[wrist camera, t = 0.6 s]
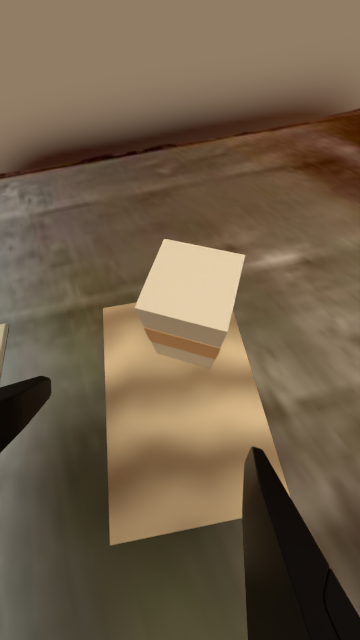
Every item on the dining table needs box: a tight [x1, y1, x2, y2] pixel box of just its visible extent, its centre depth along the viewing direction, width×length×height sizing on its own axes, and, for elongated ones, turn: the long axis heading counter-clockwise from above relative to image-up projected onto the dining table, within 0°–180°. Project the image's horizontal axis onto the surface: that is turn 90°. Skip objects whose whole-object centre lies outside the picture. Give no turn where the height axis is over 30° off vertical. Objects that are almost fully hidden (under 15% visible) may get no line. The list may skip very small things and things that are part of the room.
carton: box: [135, 239, 245, 369], centre depth 18 cm, size 6×6×10 cm
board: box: [103, 303, 290, 545], centre depth 21 cm, size 20×14×2 cm
